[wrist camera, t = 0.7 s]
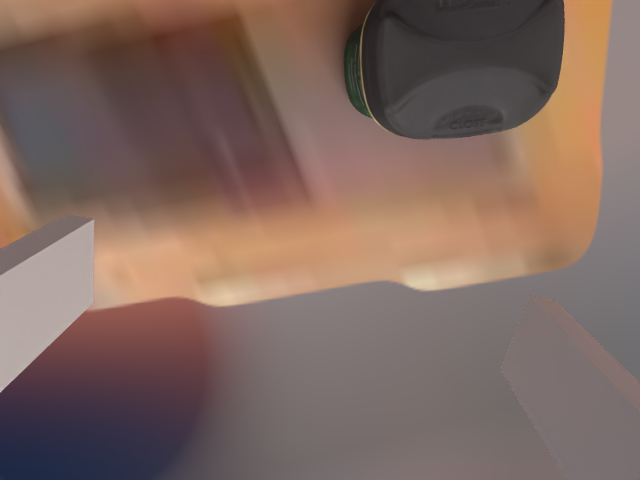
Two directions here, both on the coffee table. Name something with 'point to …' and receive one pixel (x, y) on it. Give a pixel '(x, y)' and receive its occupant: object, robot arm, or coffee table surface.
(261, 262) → the coffee table surface
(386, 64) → the coffee jar
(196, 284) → the coffee table surface
